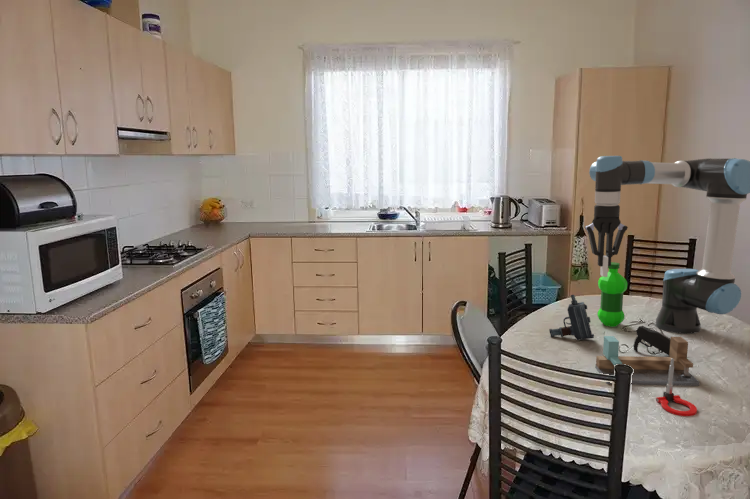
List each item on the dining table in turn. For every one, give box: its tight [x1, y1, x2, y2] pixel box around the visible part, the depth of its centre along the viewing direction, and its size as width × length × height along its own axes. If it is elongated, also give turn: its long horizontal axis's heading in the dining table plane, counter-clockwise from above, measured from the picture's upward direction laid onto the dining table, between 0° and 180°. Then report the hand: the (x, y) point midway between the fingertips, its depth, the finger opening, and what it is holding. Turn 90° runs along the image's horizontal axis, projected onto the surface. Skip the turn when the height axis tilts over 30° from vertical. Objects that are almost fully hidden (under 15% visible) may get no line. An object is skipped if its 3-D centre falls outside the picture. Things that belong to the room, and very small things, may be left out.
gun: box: [548, 294, 595, 341], centre depth 195 cm, size 3×17×15 cm
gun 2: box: [633, 325, 671, 356], centre depth 178 cm, size 3×16×10 cm, turn 59°
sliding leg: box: [602, 335, 622, 365], centre depth 164 cm, size 3×10×9 cm, turn 173°
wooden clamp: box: [595, 336, 694, 376], centre depth 163 cm, size 26×10×9 cm, turn 83°
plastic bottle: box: [597, 261, 628, 328], centre depth 207 cm, size 10×10×25 cm
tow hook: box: [655, 358, 698, 417], centre depth 141 cm, size 8×13×9 cm
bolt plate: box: [595, 364, 700, 387], centre depth 162 cm, size 26×12×1 cm, turn 83°
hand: (603, 275), depth 173 cm, fingers closed
